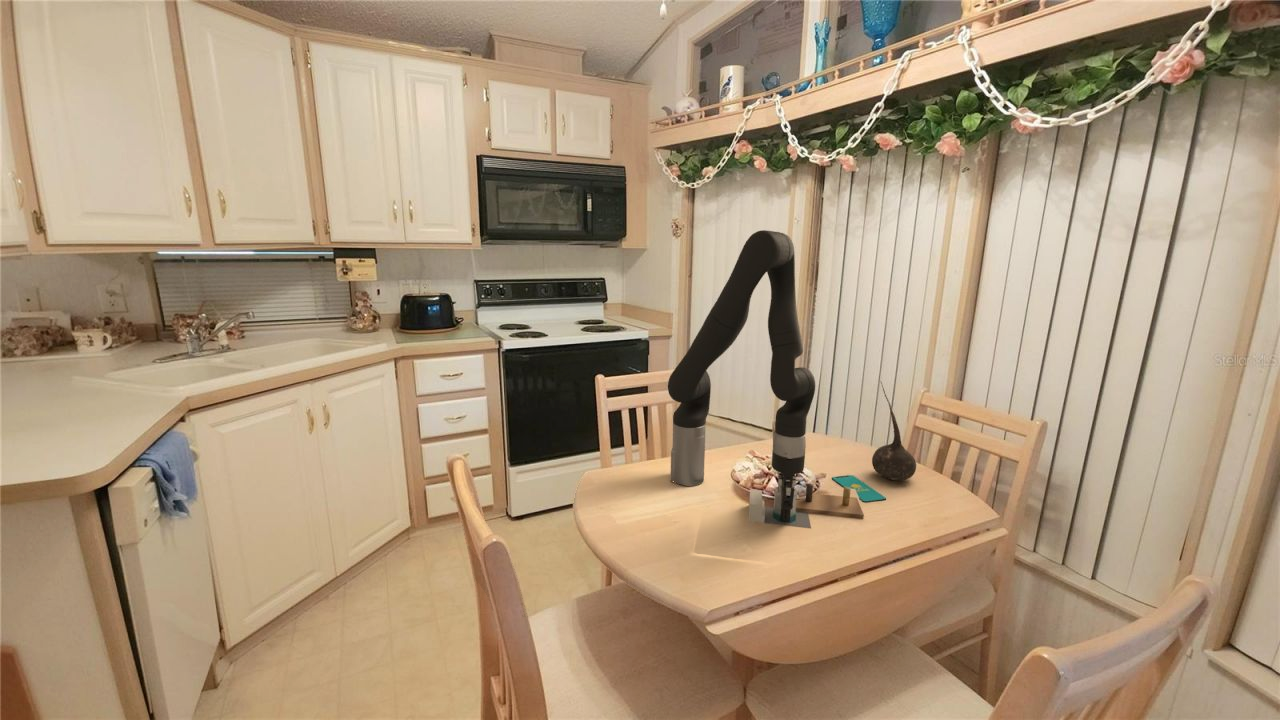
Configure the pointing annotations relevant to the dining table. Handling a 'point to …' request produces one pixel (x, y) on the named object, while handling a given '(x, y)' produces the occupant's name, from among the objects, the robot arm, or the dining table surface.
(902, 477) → the radish
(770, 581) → the dining table surface
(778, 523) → the feeder mat
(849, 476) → the smartphone
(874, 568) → the dining table surface
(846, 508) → the pin board
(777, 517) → the sleeve
